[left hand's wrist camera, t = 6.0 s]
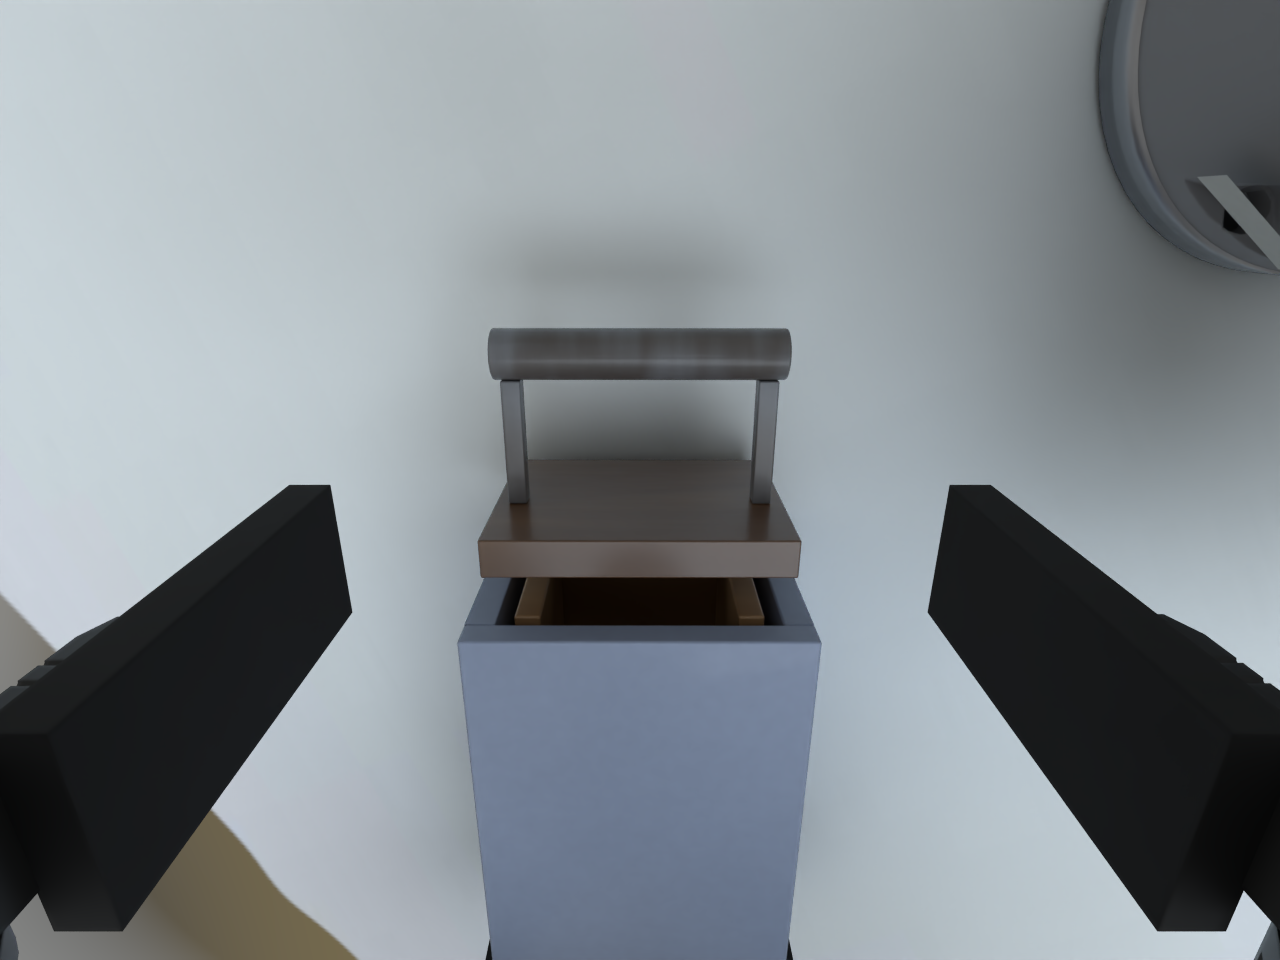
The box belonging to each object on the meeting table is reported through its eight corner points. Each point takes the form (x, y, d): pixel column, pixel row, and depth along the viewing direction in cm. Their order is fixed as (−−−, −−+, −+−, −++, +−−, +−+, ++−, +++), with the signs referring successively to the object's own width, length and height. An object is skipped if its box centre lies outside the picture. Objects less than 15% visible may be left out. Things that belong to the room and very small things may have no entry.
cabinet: (510, 515, 28) (456, 641, 20) (768, 515, 28) (822, 642, 20) (538, 896, 35) (507, 1103, 27) (740, 896, 35) (770, 1104, 27)
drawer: (507, 310, 24) (458, 346, 18) (771, 311, 24) (820, 346, 18) (544, 856, 33) (520, 1011, 27) (734, 856, 33) (757, 1012, 27)
